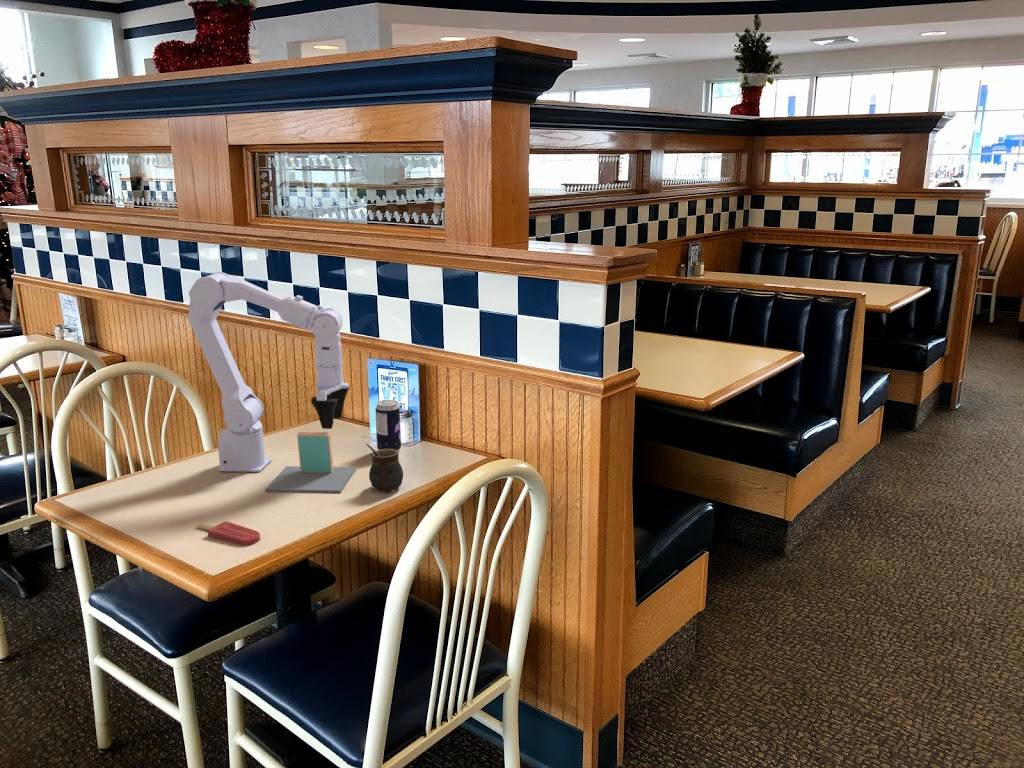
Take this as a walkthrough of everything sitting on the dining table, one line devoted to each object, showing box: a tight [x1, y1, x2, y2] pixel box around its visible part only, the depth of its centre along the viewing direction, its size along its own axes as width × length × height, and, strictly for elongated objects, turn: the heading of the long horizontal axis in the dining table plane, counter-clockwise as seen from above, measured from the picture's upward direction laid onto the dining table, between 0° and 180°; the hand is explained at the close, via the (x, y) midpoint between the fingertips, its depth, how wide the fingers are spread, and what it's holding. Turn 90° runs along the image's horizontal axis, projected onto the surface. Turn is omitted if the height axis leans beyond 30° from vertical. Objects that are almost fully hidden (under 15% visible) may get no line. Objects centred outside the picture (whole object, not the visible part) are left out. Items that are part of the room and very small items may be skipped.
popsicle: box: [196, 520, 261, 546], centre depth 152 cm, size 4×2×15 cm
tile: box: [296, 431, 335, 473], centre depth 181 cm, size 7×2×9 cm, turn 87°
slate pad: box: [264, 465, 357, 494], centre depth 178 cm, size 16×14×1 cm
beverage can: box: [375, 399, 402, 452], centre depth 196 cm, size 6×6×12 cm
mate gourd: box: [365, 442, 404, 493], centre depth 172 cm, size 7×8×10 cm
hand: (332, 423), depth 185 cm, fingers open, 7 cm apart
